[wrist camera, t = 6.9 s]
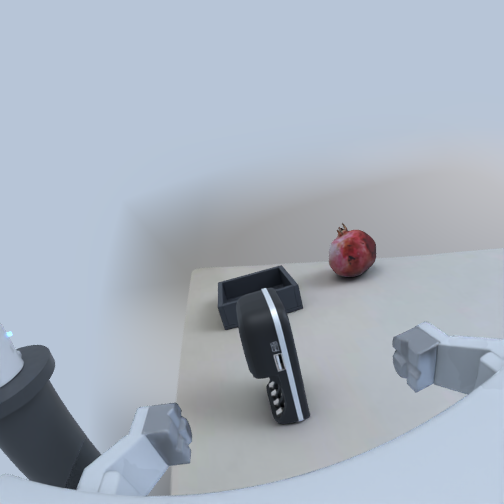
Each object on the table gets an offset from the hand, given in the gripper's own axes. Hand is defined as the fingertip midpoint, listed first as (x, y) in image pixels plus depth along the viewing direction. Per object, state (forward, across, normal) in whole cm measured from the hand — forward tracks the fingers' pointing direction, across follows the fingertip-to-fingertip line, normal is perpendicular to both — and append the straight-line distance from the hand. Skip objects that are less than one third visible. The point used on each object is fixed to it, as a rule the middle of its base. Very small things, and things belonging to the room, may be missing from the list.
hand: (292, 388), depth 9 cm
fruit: (+40, -20, +13) cm, 47 cm away
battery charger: (+13, 0, +13) cm, 19 cm away
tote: (+39, -1, +13) cm, 41 cm away
